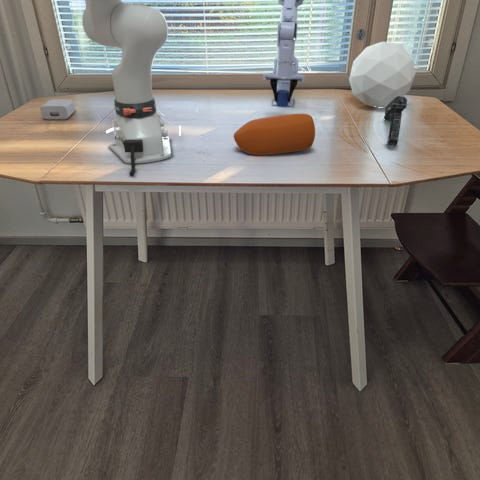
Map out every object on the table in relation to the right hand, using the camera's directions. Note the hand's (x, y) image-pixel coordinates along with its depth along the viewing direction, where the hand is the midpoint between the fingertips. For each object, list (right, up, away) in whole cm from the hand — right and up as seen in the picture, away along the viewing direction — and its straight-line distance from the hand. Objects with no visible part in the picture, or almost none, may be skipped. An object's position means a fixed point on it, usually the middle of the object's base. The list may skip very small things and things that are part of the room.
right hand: (282, 101), depth 147 cm
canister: (0, -1, +1) cm, 1 cm away
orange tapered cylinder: (-5, -22, -20) cm, 30 cm away
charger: (-83, -2, +7) cm, 83 cm away
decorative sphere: (+41, +5, +20) cm, 45 cm away
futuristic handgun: (+37, -14, -7) cm, 40 cm away
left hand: (-49, +36, -5) cm, 61 cm away
